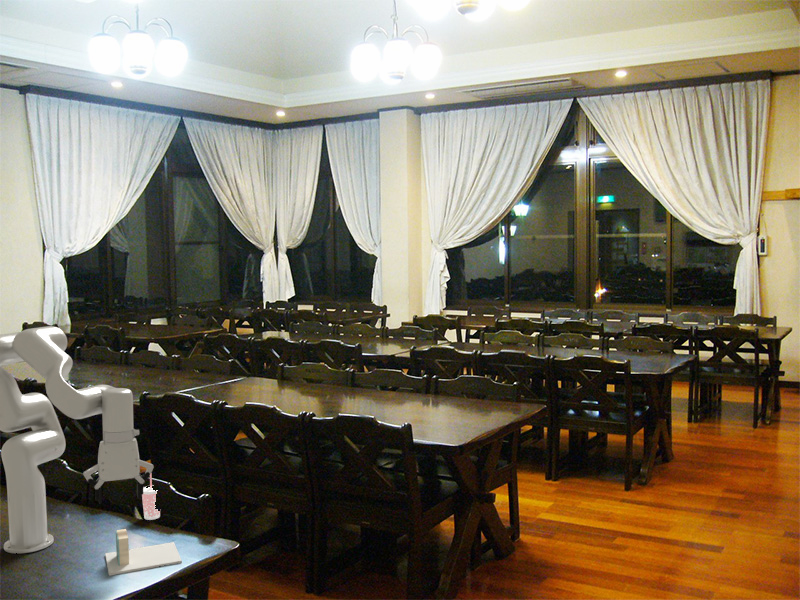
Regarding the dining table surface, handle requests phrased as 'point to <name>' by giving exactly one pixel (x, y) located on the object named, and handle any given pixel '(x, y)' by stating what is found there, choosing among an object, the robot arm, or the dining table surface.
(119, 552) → the tan notched wooden block
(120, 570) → the off-white board
